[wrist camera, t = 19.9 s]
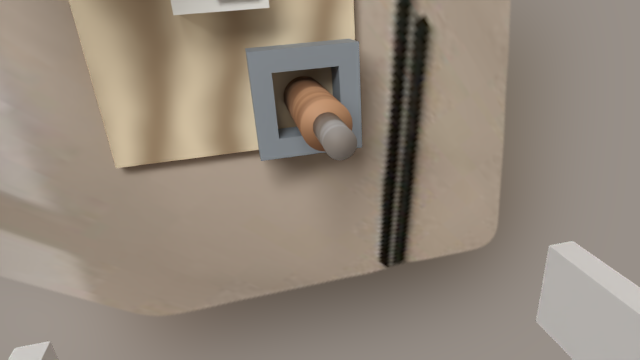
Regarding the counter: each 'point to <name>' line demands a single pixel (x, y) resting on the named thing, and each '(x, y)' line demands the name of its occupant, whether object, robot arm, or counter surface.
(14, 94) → the counter surface
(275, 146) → the socket
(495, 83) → the counter surface
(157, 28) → the plywood panel
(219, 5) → the block
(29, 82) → the counter surface
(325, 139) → the awl
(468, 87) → the counter surface
